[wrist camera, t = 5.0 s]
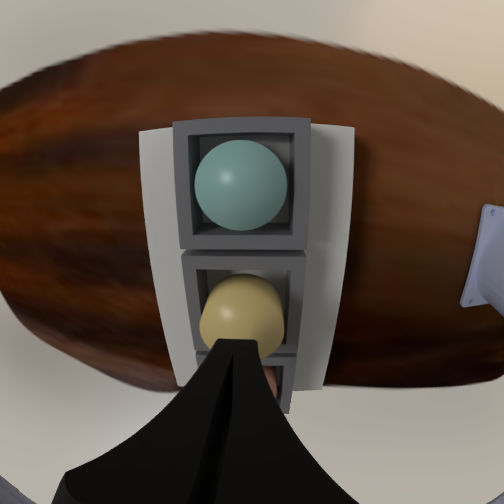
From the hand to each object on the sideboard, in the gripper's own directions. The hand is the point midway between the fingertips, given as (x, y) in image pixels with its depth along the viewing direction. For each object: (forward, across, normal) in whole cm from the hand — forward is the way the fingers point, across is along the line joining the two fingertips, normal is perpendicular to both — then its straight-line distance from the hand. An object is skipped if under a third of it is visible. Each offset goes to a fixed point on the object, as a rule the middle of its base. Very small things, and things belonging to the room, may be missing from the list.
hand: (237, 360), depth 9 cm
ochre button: (+4, 0, 0) cm, 4 cm away
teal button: (+5, 0, -5) cm, 7 cm away
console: (+7, 0, 0) cm, 7 cm away
